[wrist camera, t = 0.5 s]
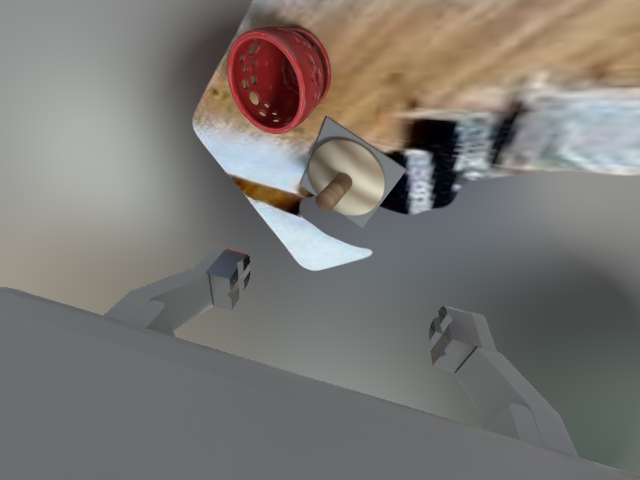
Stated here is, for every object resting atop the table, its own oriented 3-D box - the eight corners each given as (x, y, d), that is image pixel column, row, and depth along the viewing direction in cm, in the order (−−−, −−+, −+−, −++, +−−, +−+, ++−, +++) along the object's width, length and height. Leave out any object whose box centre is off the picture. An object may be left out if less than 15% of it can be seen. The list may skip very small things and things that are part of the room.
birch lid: (327, 121, 49) (300, 140, 43) (402, 170, 48) (385, 197, 42) (302, 184, 61) (278, 206, 55) (361, 225, 60) (343, 252, 54)
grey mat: (327, 116, 49) (326, 117, 49) (406, 169, 48) (406, 170, 48) (301, 184, 62) (300, 185, 62) (363, 226, 61) (362, 227, 61)
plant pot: (283, 113, 53) (243, 134, 45) (265, 29, 45) (212, 37, 37) (344, 111, 47) (310, 136, 39) (335, 14, 39) (290, 20, 31)
